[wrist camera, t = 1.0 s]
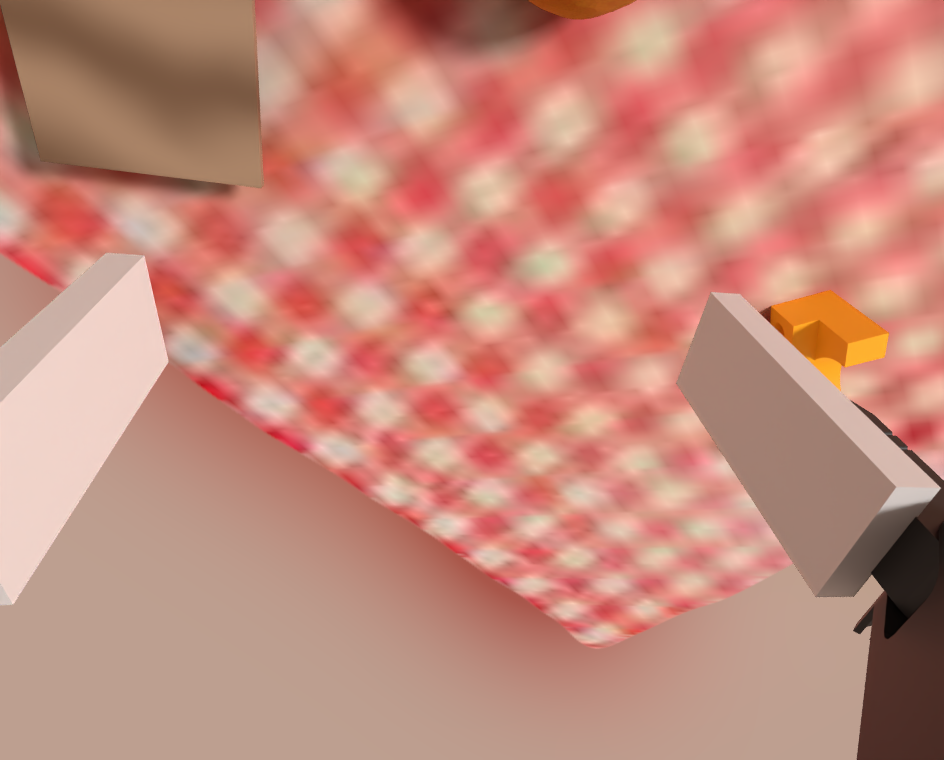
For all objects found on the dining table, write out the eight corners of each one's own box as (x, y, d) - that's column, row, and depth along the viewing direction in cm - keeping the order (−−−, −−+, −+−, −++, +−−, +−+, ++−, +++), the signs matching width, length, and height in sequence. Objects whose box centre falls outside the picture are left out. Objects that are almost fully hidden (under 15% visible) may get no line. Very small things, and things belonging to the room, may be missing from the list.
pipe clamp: (769, 304, 42) (820, 350, 37) (829, 288, 42) (888, 333, 37) (764, 424, 49) (806, 477, 44) (815, 411, 49) (864, 463, 44)
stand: (11, -105, 26) (-31, -114, 24) (262, -58, 28) (248, -62, 25) (69, 147, 32) (40, 161, 30) (272, 173, 34) (261, 188, 31)
